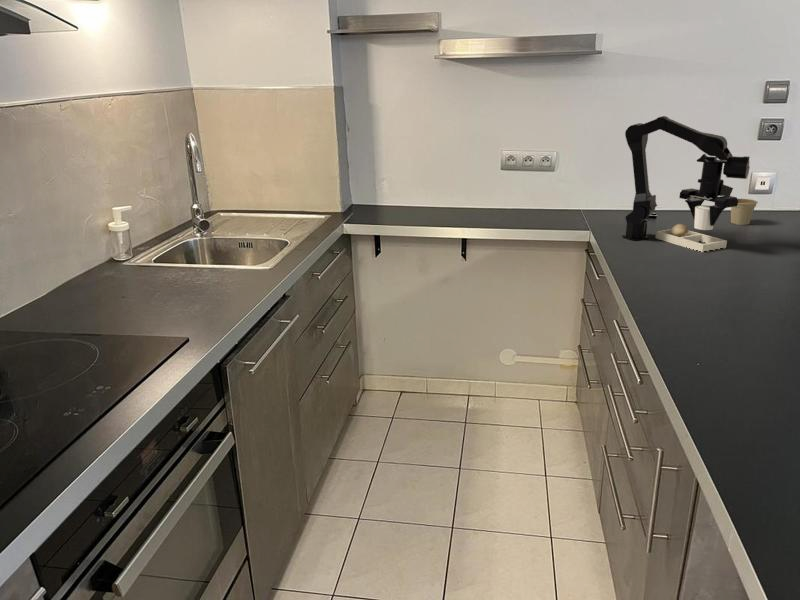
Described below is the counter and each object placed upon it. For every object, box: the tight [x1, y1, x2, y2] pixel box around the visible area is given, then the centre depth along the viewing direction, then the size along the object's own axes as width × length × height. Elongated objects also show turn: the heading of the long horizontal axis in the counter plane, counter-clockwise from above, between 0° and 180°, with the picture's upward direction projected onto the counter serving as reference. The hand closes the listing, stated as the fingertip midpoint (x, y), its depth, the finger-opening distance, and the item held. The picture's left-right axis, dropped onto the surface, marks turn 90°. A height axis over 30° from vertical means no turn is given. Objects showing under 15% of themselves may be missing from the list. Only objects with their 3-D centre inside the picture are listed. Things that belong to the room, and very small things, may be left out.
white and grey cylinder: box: [693, 204, 715, 231], centre depth 203 cm, size 7×7×7 cm
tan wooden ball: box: [670, 223, 689, 237], centre depth 214 cm, size 6×6×6 cm
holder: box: [655, 228, 728, 253], centre depth 211 cm, size 11×20×2 cm, turn 23°
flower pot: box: [730, 198, 759, 226], centre depth 232 cm, size 9×9×9 cm
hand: (703, 223), depth 204 cm, fingers closed on white and grey cylinder, 6 cm apart
